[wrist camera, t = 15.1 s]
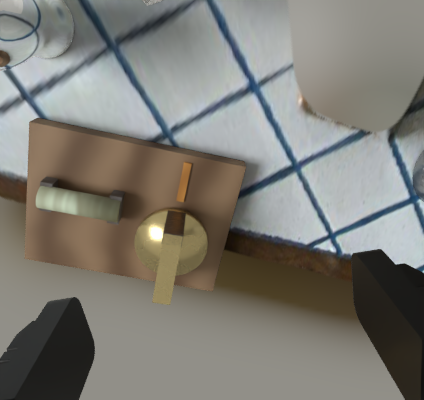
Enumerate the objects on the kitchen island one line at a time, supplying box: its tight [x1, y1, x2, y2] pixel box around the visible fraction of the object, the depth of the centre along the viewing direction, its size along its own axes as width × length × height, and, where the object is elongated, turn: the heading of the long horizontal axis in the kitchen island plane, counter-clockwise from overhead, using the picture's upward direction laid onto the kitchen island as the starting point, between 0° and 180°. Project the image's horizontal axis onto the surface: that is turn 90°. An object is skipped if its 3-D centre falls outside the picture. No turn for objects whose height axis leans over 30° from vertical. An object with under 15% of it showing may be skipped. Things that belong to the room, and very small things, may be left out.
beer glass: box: [0, 0, 74, 71], centre depth 29 cm, size 7×7×15 cm
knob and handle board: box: [25, 118, 246, 291], centre depth 41 cm, size 22×16×5 cm
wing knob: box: [134, 208, 208, 305], centre depth 40 cm, size 8×8×6 cm
